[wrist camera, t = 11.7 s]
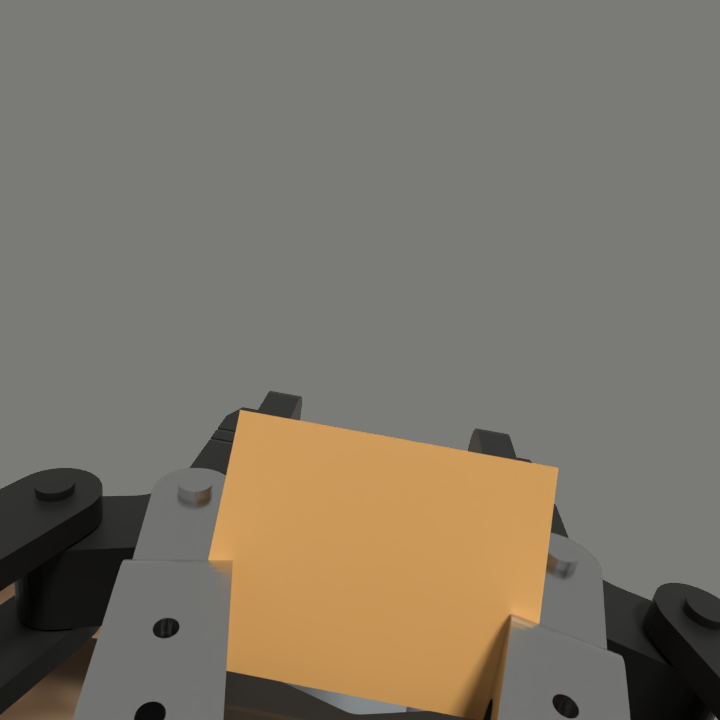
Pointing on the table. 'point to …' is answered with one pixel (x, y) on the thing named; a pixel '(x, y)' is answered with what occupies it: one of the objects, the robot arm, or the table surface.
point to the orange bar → (378, 561)
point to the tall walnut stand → (53, 684)
